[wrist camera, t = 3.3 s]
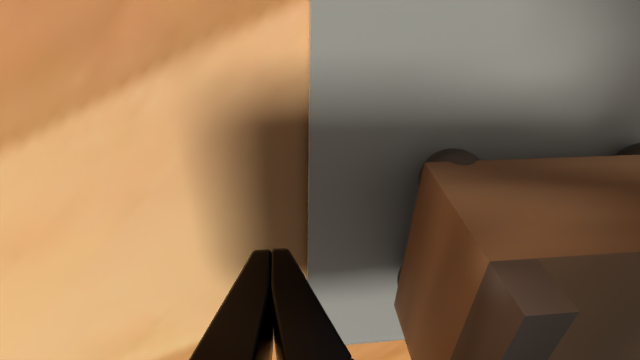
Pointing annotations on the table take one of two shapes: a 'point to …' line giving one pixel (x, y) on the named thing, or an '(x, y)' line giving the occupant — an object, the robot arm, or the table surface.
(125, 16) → the table surface
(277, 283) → the robot arm
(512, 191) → the block
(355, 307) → the dock
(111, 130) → the table surface
